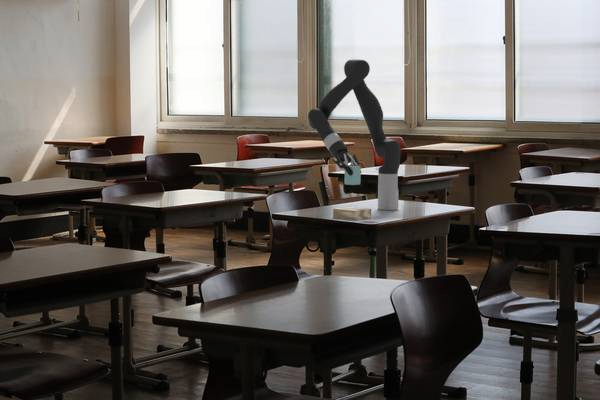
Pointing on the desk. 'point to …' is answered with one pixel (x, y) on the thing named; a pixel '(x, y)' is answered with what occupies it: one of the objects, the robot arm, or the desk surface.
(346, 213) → the block
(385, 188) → the robot arm
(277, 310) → the desk surface
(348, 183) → the teal block
